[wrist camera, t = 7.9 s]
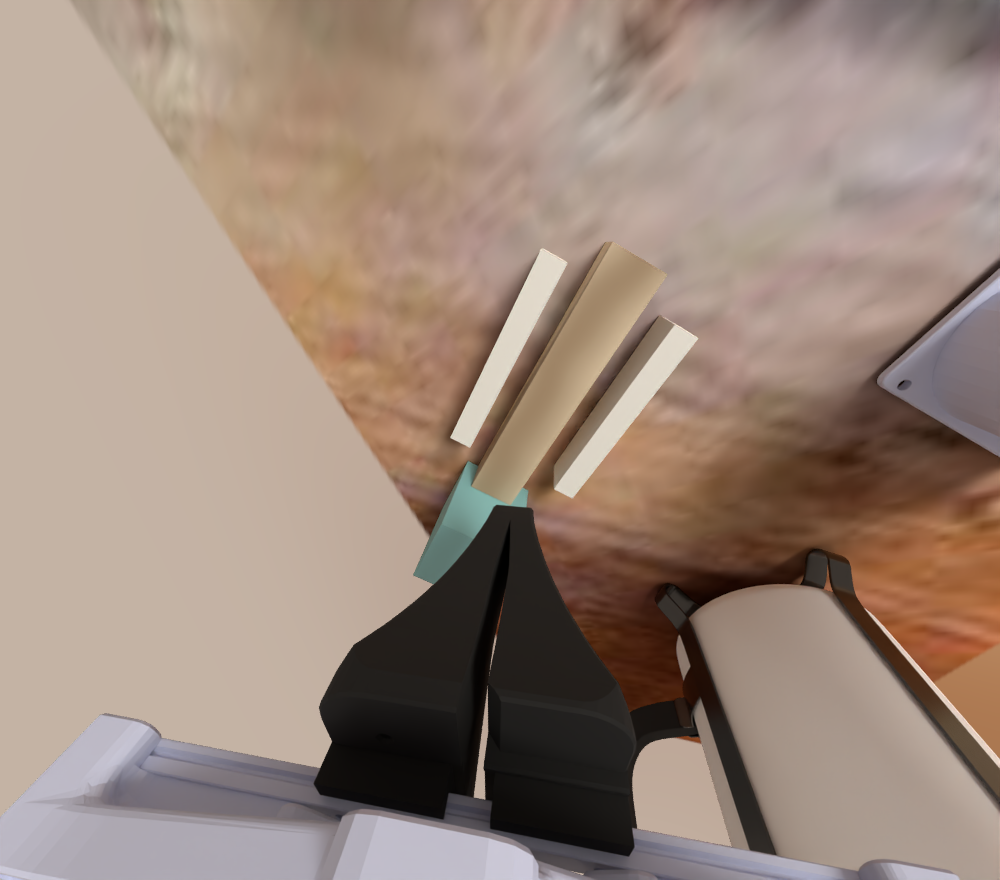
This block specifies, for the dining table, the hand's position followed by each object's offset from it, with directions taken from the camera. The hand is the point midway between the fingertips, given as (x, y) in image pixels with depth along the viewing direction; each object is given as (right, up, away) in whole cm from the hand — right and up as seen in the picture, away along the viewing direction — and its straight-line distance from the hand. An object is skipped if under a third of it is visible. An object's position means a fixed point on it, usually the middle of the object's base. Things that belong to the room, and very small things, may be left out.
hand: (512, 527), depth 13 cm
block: (-2, -1, +11) cm, 11 cm away
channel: (+3, +7, +6) cm, 10 cm away
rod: (+2, +6, +7) cm, 10 cm away
